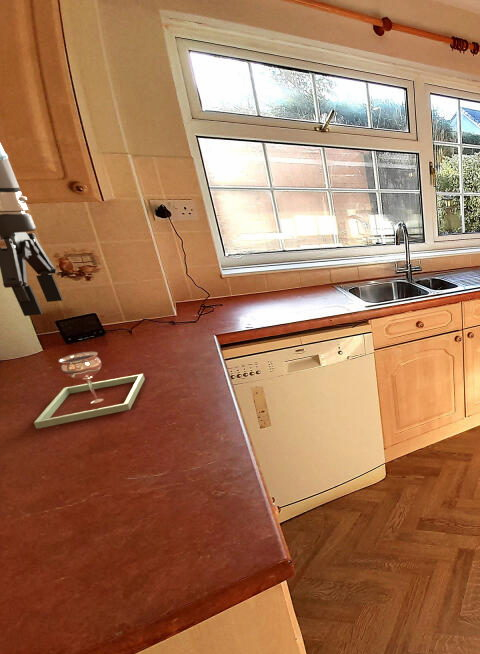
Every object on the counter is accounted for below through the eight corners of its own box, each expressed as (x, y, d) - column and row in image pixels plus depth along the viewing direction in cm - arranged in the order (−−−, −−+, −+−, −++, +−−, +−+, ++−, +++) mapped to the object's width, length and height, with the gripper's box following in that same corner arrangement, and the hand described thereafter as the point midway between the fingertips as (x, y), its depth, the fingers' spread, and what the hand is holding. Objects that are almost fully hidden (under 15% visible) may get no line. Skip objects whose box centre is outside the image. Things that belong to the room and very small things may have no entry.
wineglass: (94, 410, 99) (74, 363, 94) (70, 408, 100) (49, 362, 95) (123, 397, 105) (105, 352, 100) (100, 395, 106) (82, 351, 102)
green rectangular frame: (39, 434, 91) (33, 422, 90) (68, 397, 107) (63, 387, 106) (131, 414, 99) (127, 403, 97) (146, 383, 114) (143, 373, 113)
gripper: (3, 216, 83) (47, 318, 91) (49, 209, 103) (82, 294, 111) (-54, 218, 80) (-3, 324, 88) (5, 210, 100) (42, 297, 108)
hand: (45, 307), depth 100 cm, fingers open, 13 cm apart
